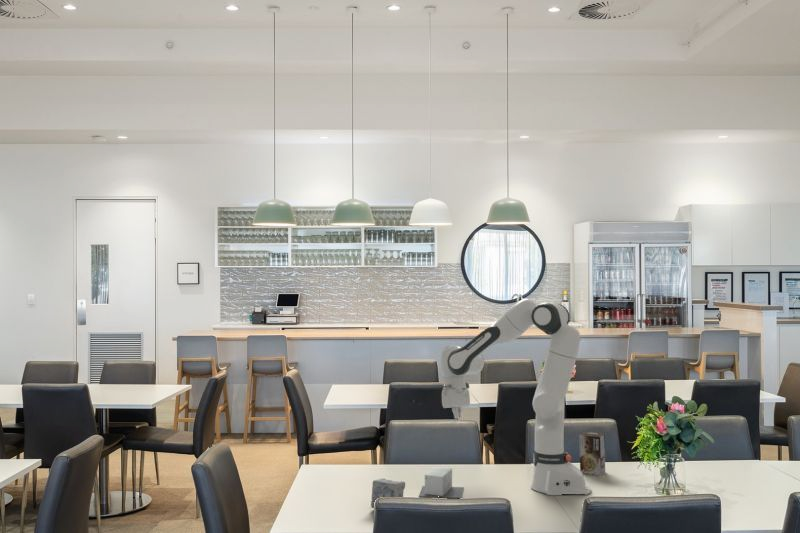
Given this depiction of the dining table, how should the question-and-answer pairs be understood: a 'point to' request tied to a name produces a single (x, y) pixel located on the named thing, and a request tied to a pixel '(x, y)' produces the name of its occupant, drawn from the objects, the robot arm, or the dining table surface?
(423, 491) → the mat
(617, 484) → the dining table surface
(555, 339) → the robot arm
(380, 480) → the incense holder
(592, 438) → the coffee box
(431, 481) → the supplement box
